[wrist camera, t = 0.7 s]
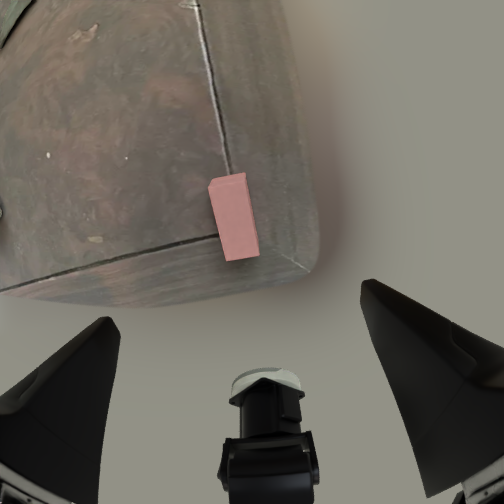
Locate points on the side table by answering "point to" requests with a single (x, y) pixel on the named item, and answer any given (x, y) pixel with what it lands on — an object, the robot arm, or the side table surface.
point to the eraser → (234, 216)
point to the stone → (12, 17)
